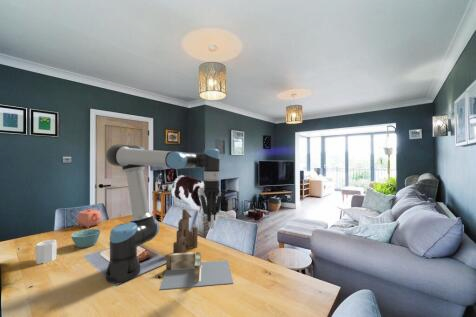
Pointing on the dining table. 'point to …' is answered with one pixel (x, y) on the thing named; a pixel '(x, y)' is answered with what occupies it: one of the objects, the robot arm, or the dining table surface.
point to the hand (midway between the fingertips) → (211, 227)
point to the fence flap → (197, 267)
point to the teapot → (89, 218)
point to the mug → (45, 251)
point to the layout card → (208, 276)
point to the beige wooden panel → (181, 260)
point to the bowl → (86, 237)
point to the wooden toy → (185, 234)
